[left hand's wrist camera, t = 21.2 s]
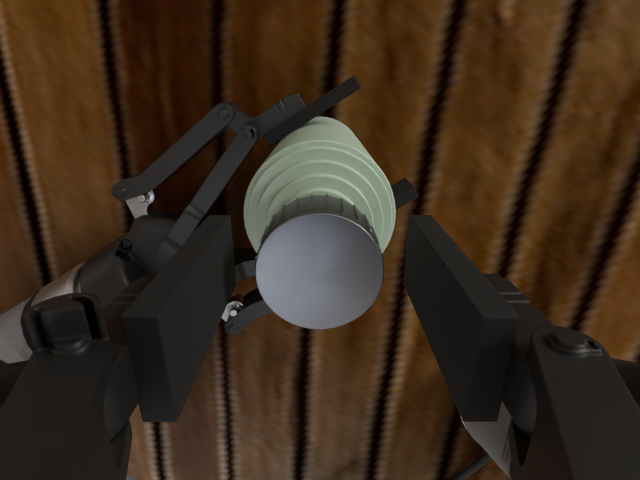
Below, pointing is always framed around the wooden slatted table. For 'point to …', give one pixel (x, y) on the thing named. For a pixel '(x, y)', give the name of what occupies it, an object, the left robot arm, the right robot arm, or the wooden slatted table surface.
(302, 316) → the cap
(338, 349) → the wooden slatted table surface
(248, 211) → the bottle
